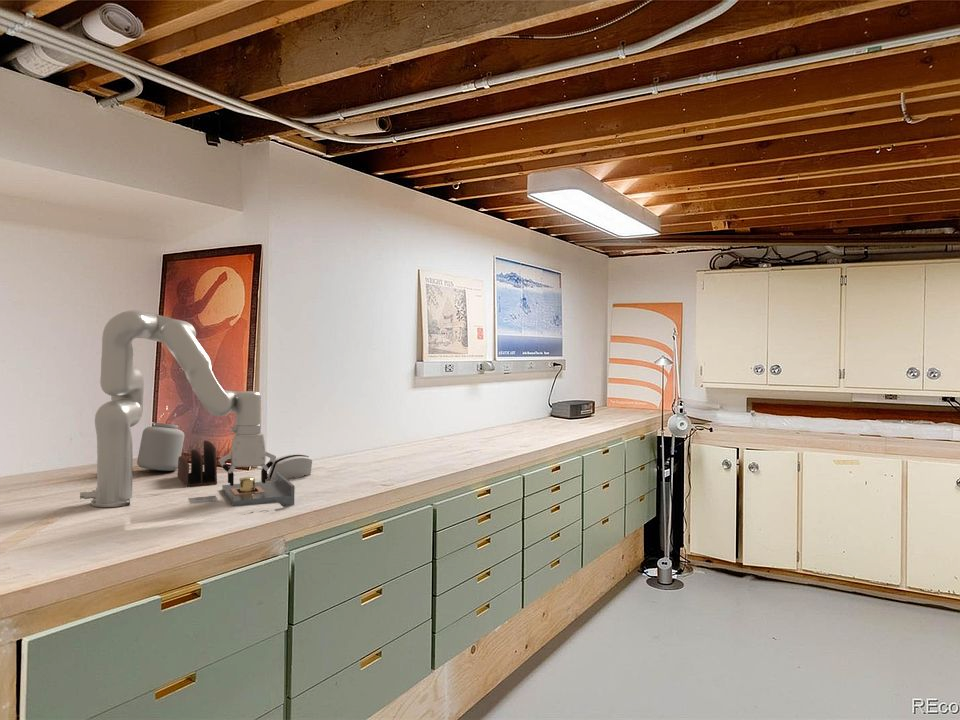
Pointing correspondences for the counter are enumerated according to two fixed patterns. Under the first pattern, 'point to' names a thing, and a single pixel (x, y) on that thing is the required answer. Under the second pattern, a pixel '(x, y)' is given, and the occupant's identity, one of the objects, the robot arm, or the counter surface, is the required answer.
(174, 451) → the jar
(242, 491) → the barrel peg
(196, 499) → the gray square slab
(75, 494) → the counter surface
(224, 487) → the plate
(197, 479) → the letter holder
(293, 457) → the grey rounded block
